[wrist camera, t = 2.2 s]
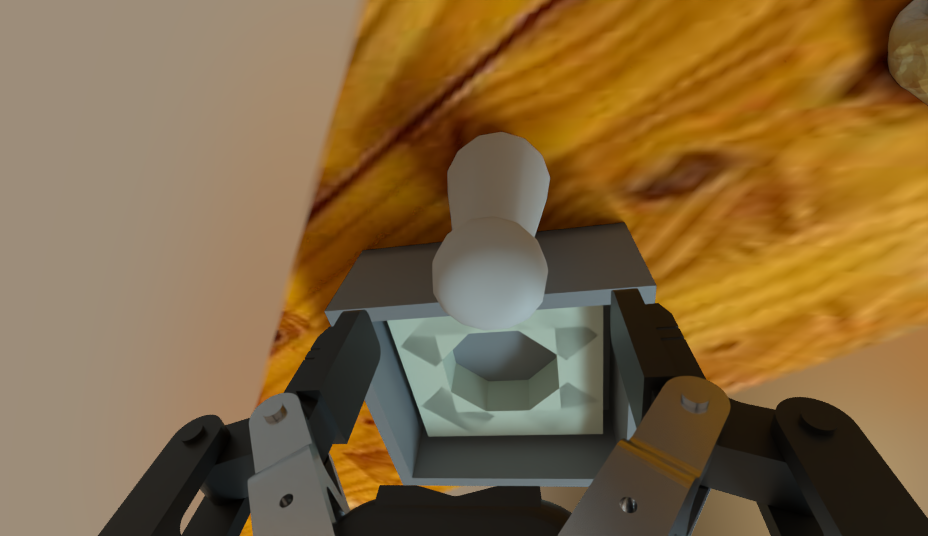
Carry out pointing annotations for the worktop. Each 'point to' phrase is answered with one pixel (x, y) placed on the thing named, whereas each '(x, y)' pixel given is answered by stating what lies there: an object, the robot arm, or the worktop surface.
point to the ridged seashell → (910, 49)
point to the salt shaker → (493, 234)
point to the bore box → (500, 367)
